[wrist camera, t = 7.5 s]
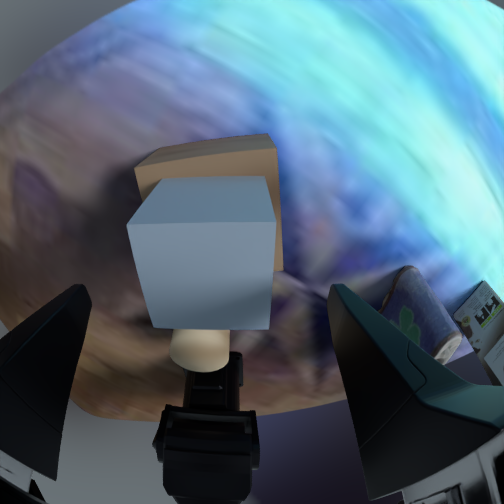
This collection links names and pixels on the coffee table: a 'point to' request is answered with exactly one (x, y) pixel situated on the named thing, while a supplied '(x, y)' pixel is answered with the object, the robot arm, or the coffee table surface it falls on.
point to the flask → (421, 315)
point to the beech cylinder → (200, 349)
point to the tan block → (218, 168)
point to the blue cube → (206, 252)
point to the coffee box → (485, 329)
